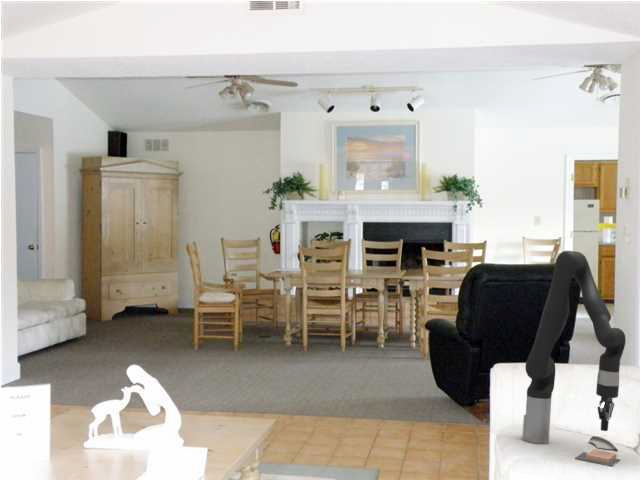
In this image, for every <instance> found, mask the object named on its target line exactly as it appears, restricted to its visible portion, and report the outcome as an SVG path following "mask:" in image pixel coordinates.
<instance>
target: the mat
mask: <svg viewBox="0 0 640 480" xmlns="http://www.w3.org/2000/svg"><path fill="white" fill-rule="evenodd" d="M588 453H589V452H585V451H584V452H582V453H580V454H579V455H577V456H575V457H574V460H577V459H578V460H579V461H582V462H583V461H584V462H588V463H593V464H597V465H602V466H607V467H610V468H611V467H614V466H615V465H616V464H617V463H619V462H620V461H621V459H619V458H616V459H614V460H613V461H612V462H610V463H609V464H608V463H603V462H598V461H593V460H588V459H586V454H588ZM578 460H577V461H578ZM615 463H616V464H615ZM614 464H615V465H614Z"/></svg>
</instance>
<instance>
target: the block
mask: <svg viewBox="0 0 640 480" xmlns="http://www.w3.org/2000/svg"><path fill="white" fill-rule="evenodd" d="M587 453H588V454H586V459H588V460H593V461H598V462H603V463H608V464H609V463H610V462H612V461H613V460H614V459H617V455H618V453H617V452H616V453H615V452H610V451H607V450H602V449H597V448H596V449H595V448H594V449H592V450H591V451H589V452H587Z"/></svg>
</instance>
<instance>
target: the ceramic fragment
mask: <svg viewBox="0 0 640 480" xmlns="http://www.w3.org/2000/svg"><path fill="white" fill-rule="evenodd" d="M587 443H588V444H591V445H594V446H595V448H596V449H597V450H603V451H614V452H618V451H619V450H618V449H617V447H616V446H615V444H614V443H612V442H611V441H610V440H608V439H606V438H604V437H601V436H591V437H590V438H589V440H588V441H587Z"/></svg>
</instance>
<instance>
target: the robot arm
mask: <svg viewBox="0 0 640 480" xmlns="http://www.w3.org/2000/svg"><path fill="white" fill-rule="evenodd" d="M553 268H554V269H553V273H552V277H551V278H552V279H551V283H550V288H549V290H548V294H547V298H546V301H545V305H544V308H543V311H542V314H541V318H540V321H539V326H538V328H537V331H536V336H535V339H534V343H533V345H532V347H531V350H530V352H529V355H528V357H527V360H526V362H525V368H524V369H525V372H526V375H527V377H528V378H530V379H531V381H530V384H529V386H528V387H527V388H526V401H525V403H526V404H525V414H524V415H523V423H522V440H523V441H526V442H529V443H533V444H540V445H541V444H549V443H550V428H551V425H550V424H551V413H552V412H551V411H552V394H553V391H554V389H555V382H556V381H555V380H556V363H555V361H554V359H553V358H552V357H551V353H552V350H553V349H554V345H555V344H556V342H557V341H558V339H559V338H560V336H561V335H562V332H563V331H564V328H565V327H566V324H567V321H568V317H569V314H570V299H569V289H570V285H571V282H572V279H573V278H574V279H575V280H576V282H577V284H578V285H579V288H580V291H581V299H582V302H583V306H584V309H585V311H586V313H587V314H588V317H589V320H591V322H592V325H593V326H592V327H593V330H594V335H595V338H596V340H597V342H598V343H599V344H600V345H601V346H602V347H603V348H605V351H604V352H603V353H602V354H601V355H600V356H599V365H598V371H597V380H596V388H595V389H596V390H595V391H596V392H595V393H596V395H597V397H600V400H599V404H598V405H599V406H597V413H598V419H599V420H600V431H603V432H607V431H608V430H609V421H610V419H611V418H612V416H613V411H614V407H615V402H614V401H613V399H616V398H618V397H619V392H620V391H619V389H620V365H621V359H622V356H623V353H624V350H625V347H626V346H625V345H626V335H625V333H624V331H623V330H622V329H621V328H619V327H611V324H610V321H611V319H612V315H611V313H610V311H609V309H608V307H607V305H606V303H605V302H604V299H603V298H602V296H601V294H600V291H599V289H598V287H597V285H596V282H595V279H594V277H593V274H592V270H591V267H590V265H589V262H588V259H587V257H586V256H585V254H583V253H582V252H580V251H574V250H563V251H561V252H560V253H559V254H558V255H557V258H556V260H555V262H554V267H553Z"/></svg>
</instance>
